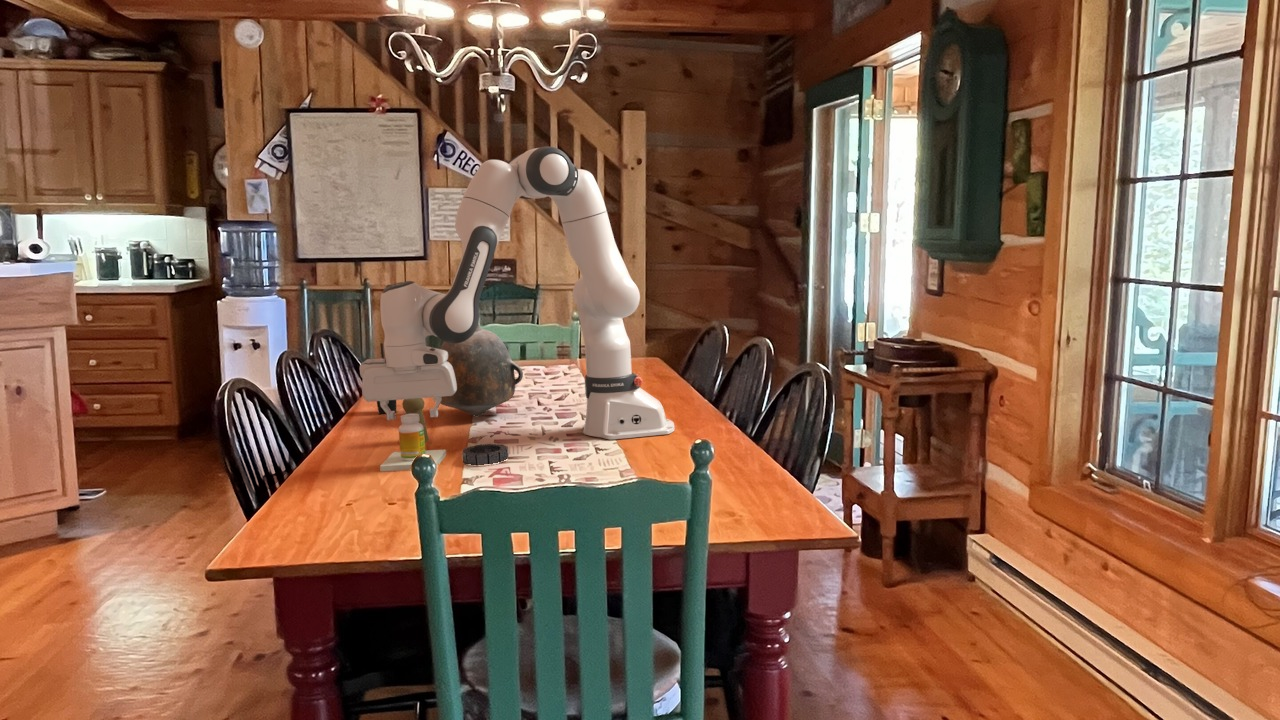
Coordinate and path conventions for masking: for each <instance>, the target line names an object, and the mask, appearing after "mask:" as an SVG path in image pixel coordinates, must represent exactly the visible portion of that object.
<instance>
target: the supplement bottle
mask: <svg viewBox="0 0 1280 720" xmlns="http://www.w3.org/2000/svg"><path fill="white" fill-rule="evenodd" d="M419 421H420V418H419V414H402V415H400V422H401V425H400V426H399V427H398V437H399V452H401V459H402V460H405V461H413V459H414V458H415V457H416V456H418V455H420V454H426V442H425V438H424V427H423V425H422V424H420V423H419Z"/></svg>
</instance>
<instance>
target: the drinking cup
mask: <svg viewBox="0 0 1280 720" xmlns="http://www.w3.org/2000/svg"><path fill="white" fill-rule="evenodd" d="M379 344H380V353H381V354H380V355H381V357H380V358H385V351H384V342H383V343H382V342H381V343H379ZM376 404H377V405H376V406H377V410H378V415H381V414H386V413H385V411H384V410H383V409H382V407H381V406H380V401H376ZM387 406H388V407H389V408H390V410H391V411H395V414H397V400H389V403H388V404H387Z"/></svg>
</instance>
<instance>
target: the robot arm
mask: <svg viewBox="0 0 1280 720" xmlns="http://www.w3.org/2000/svg"><path fill="white" fill-rule="evenodd" d="M547 197H549V198H550V199H552V201H553V202H554V204H555V206H556V208H557V209H558V213H559V214H558V215H559V217H560V222H561V226H562V229H563V233H564V237H565V240H566V243H567V247H568V250H569V255H570V256H571V258H572V259H573V261H574V263H575V265H576V266H577V269H578V270H579V273H580V275H581V277H579V278H578V279H577V281H576V282H574V283H575V284H574V285H573V289H572V298H573V301H574V303H575V305H576V309H577V314H578V315H577V316H578V319H579V324H580V328H581V329H580V330H581V333H582V337H583V343H584V353H585V368H586V369H585V370H586V375H585V377H584V393H585V398H586V413H585V420H584V427H583V431H582V433H583V434H584V435H586V436H590V437H596V438H603V439H605V440H620V439H631V438H640V437H641V438H642V437H653V436H661V435H669V434H672V433H674V431H675V429H676V428H675V423H674V421H672V420H671V419H669V418H666V413H665V410H664V407H663V405H662V403H661V402H660V400H659V399H657V398H656V397H654V396H653V395H651V394H650V393H649V392H647V391H646V390H644V389H643V388H641V386H642V384H643V381H644V380H643V378H642V377H641V376H639V374H636V373H634V372H632V353H631V350H632V349H631V341H630V338H629V336H628V333H627V331H626V328H625V323H624V320H623V319H625V318H627V317H628V318H629V316H631V315H632V314H633V313H635V311H636V310H637V309H638V307H639V305H640V301H641V293H640V290H639V288H638V286H637V285H636V283H635V281H634V280H633V279H632V277H631V275H630V272H629V271H628V268H627V266H626V264H625V262H624V259H623V257H622V255H621V253H620V250H619V248H618V246H617V243H616V240H615V238H614V237H615V236H614V233H613V230H612V226H611V223H610V222H611V221H610V219H609V214H608V211H607V207H606V203H605V200H604V198H603V194H602V192H601V189H600V187H599V185H598V183H597V180H596V179H595V177H594V175H593V174H592V173H591V171H589V170H586V169H582V168H577V166H575V164H574V163H572V160H571V159H570V157H569V156H568V155H567V154H566V153H565V152H564V151H562V150H561V149H559V148H557V147H554V146H540V147H536V148H532V149H531V148H530V149H528V150H527V151H525V152H524V153H520V154H519V155H518V154H517V155H516V156H515V157H513V158H512V159H510V161H508V162H506V161H503V160H500V159H488V160H485V161H484V162H482V163H481V164H480V166H479V167H478V168H477V170H476V171H475V173H474V175H473V177H472V179H470V182H469V183H468V186H467V188H466V190H465V192H464V194H463V196H462V199H461V202H460V203H459V207H458V209H457V213H456V218H455V224H454V228H455V230H456V234H457V235H458V237H459V240H460V242H461V244H462V245H461V246H462V254H461V258H460V261H459V263H458V267H457V269H456V272H455V275H454V278H453V281H452V284H451V286H450V289H449V290H448V291H447V292H446V293H442V292H438V291H435V290H432V289H429V288H426V287H424V286H422V285H421V284H418V283H417V282H416V281H413V280H406V281H400V282H397V283H392V284H391V285H388V286H386V287H385V288H384V289H383V290H382V292H381V295H380V305H379V306H380V307H379V308H380V319H381V320H380V322H381V323H380V324H381V327H382V329H383V333H384V340H383V351H384V358H382V357H380V358H374V359H373V358H367V359H366V360H365V361H362V362H361V364H360V365H359V375H360V377H361V378H362V384H361V385H362V386H361V389H362V390H361V391H362V392H361V393H362V399H364V401H366V403H370V402H377V401H380V406H381V407H382V409H383V410H384V411H385V413H386V414H387V415H386V420H387V421H395V420H396V413H395V411H391V410H390V408H389V407H388V406H387V404H388V403H389V400H396V401H399V400H404V399H416V398H422V399H427V398H433V402H434V404H435V405H434V407H433V408H432V407H431V408H430V409H429V414H430V415H429V417H430V418H438V417H439V407H440V405H441V404H440V403H441V400H442V397H444V396H452V395H453V394H454V393H455V392H456V390H457V384H456V378H455V374H454V370H453V367H452V365H451V364H450V363H449V362H447V359H448V352H447V351H445V350H441V349H440V348H436V347H431V346H427V343H426V342H427V341H426V338H427V337H429V336H434V337H436V338H438V339H440V340H441V341H443V342H444V341H445V342H448V343H461V342H464V341H466V340H467V339H469V338H470V337H471V336H472V335H473V334H474V332H475V331H476V329H477V326H478V324H479V321H480V319H479V318H480V299H481V295H482V292H483V289H484V286H485V283H486V280H487V277H488V273H489V271H490V268H491V265H492V262H493V259H494V255H495V252H496V250H497V248H498V244H499V243H500V240H501V238H502V235H503V232H504V230H505V228H506V226H507V223H508V221H509V218H510V216H511V214H512V212H513V211H512V210H513V207H514V205H515V204H516V202H517V201H518V200H519V199H524V200H533V199H535V200H536V199H544V198H547Z"/></svg>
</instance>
